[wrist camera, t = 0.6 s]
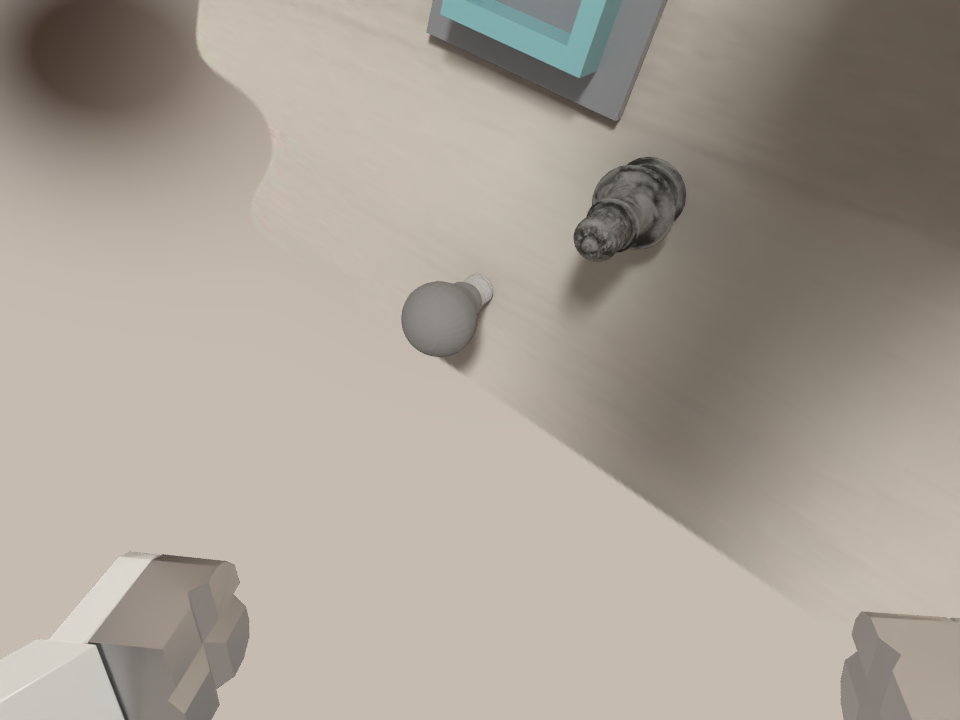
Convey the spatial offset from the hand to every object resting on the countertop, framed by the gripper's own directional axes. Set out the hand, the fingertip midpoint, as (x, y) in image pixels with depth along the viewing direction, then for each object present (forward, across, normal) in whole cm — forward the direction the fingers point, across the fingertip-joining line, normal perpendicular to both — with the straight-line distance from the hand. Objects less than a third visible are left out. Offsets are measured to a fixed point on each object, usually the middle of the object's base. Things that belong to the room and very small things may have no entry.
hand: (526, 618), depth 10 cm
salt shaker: (+47, -4, +7) cm, 48 cm away
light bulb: (+53, +9, +16) cm, 56 cm away
